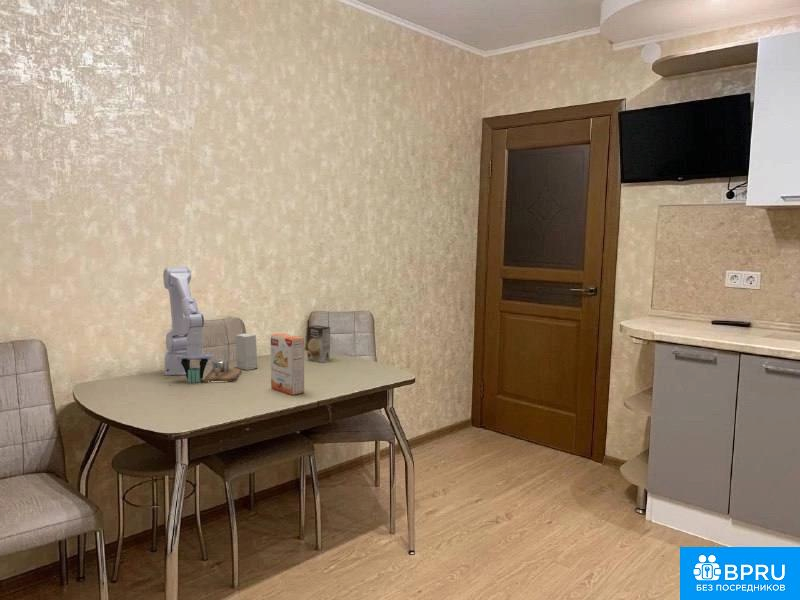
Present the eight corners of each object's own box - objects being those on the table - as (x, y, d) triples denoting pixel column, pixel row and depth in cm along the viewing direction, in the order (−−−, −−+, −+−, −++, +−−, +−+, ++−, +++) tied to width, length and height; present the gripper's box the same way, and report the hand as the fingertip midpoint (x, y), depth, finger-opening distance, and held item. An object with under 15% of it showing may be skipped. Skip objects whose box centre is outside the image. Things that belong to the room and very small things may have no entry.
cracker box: (270, 388, 238) (269, 334, 236) (283, 386, 242) (283, 332, 240) (291, 395, 228) (291, 339, 226) (304, 393, 232) (304, 337, 230)
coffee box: (306, 360, 291) (306, 326, 290) (315, 358, 297) (315, 325, 295) (321, 363, 287) (321, 328, 285) (330, 360, 292) (330, 326, 290)
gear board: (204, 382, 246) (204, 371, 246) (212, 372, 264) (212, 361, 263) (235, 382, 248) (235, 370, 247) (241, 372, 265) (241, 361, 265)
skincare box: (257, 368, 272) (257, 335, 271) (245, 370, 268) (245, 336, 267) (247, 365, 278) (247, 332, 277) (235, 367, 274) (235, 333, 273)
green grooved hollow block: (187, 383, 245) (187, 370, 244) (190, 379, 250) (190, 367, 250) (199, 382, 245) (199, 370, 245) (202, 379, 251) (202, 367, 250)
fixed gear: (211, 372, 257) (211, 361, 256) (214, 369, 263) (214, 358, 262) (227, 372, 257) (227, 360, 257) (229, 369, 264) (229, 357, 263)
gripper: (172, 345, 241) (173, 380, 243) (211, 345, 243) (212, 379, 244) (177, 342, 248) (177, 376, 250) (214, 342, 250) (215, 375, 251)
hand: (195, 377), depth 247 cm, fingers closed on green grooved hollow block, 4 cm apart
